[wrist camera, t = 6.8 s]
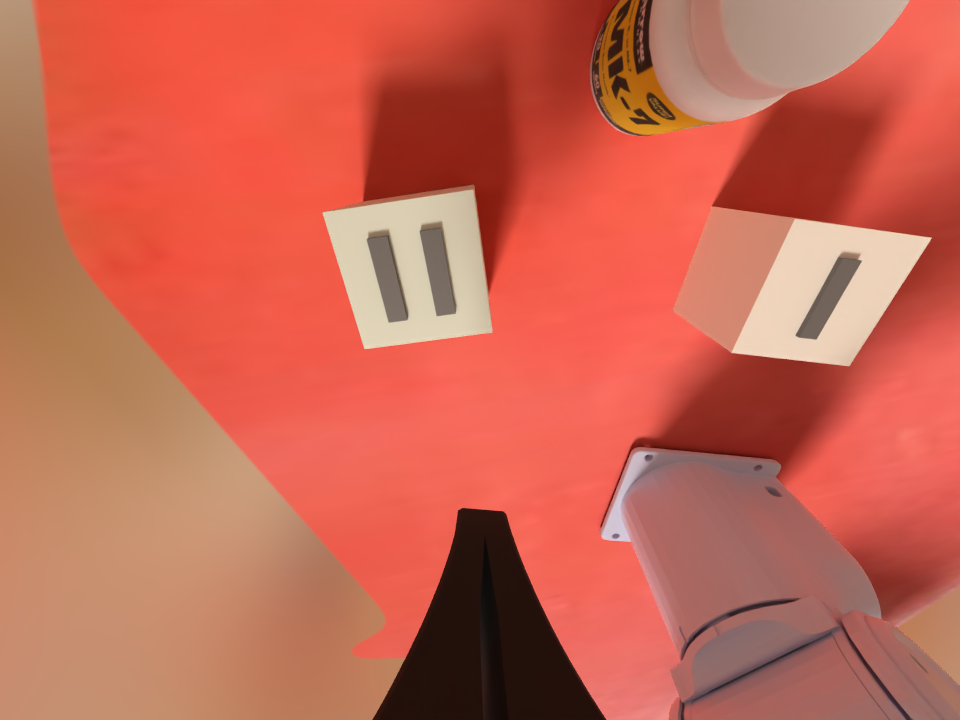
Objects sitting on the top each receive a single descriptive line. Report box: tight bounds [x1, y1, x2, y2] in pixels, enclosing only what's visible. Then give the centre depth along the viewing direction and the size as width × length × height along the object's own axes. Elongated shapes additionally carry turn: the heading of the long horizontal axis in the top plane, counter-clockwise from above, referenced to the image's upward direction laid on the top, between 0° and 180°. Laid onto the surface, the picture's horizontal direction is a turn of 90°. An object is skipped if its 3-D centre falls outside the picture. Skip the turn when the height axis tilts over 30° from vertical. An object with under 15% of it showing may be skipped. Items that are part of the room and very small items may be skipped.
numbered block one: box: [673, 206, 932, 366], centre depth 16 cm, size 5×5×5 cm
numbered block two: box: [323, 185, 493, 349], centre depth 15 cm, size 5×5×5 cm
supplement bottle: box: [590, 0, 909, 136], centre depth 11 cm, size 5×5×8 cm
